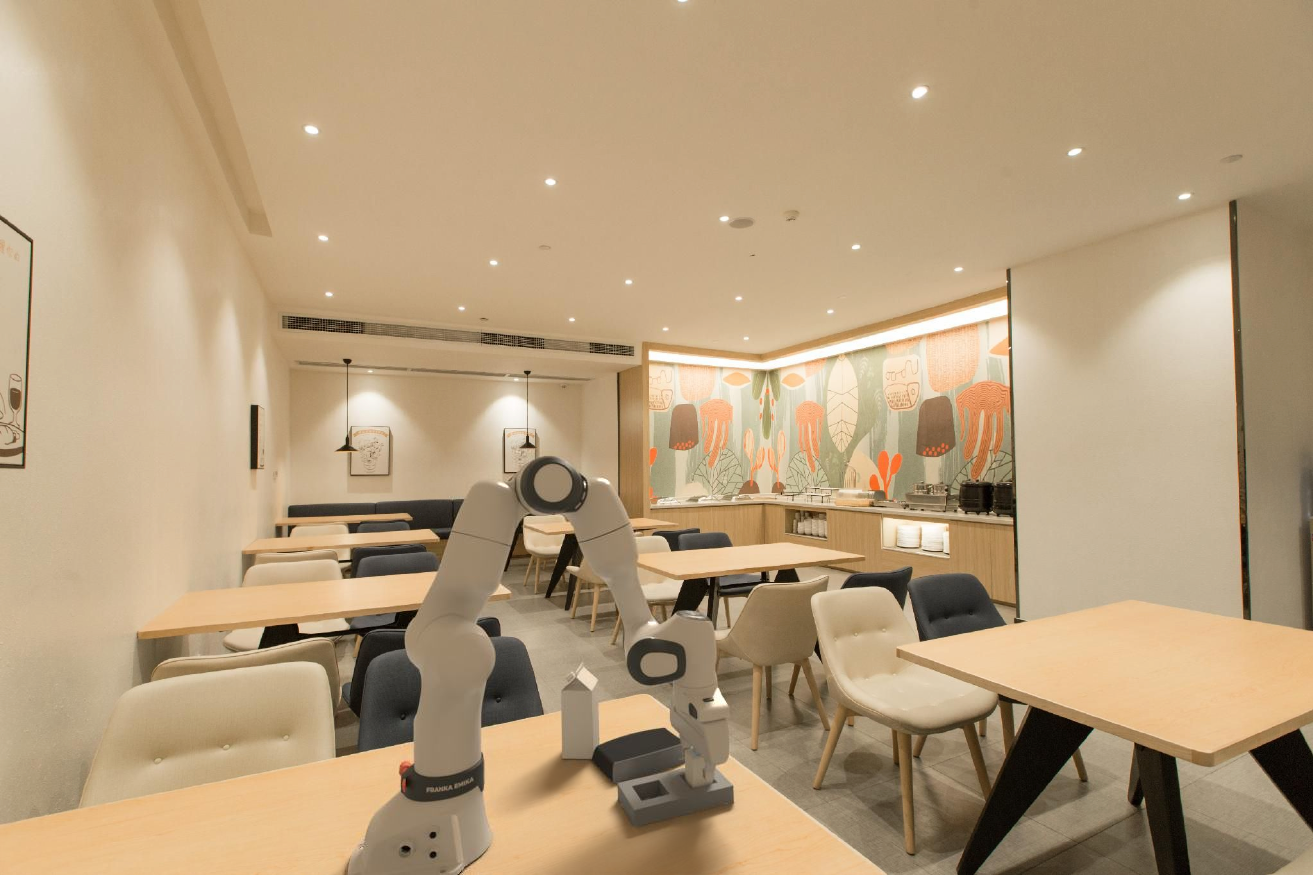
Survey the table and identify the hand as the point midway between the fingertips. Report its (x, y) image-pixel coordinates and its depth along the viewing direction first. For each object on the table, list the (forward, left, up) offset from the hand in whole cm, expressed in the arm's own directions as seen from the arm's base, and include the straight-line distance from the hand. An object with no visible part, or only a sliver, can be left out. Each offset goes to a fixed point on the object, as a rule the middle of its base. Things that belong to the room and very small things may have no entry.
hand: (697, 767), depth 114 cm
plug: (0, 0, -5) cm, 5 cm away
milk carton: (-17, +27, -5) cm, 32 cm away
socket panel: (-5, 0, -5) cm, 7 cm away
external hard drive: (-5, +18, -6) cm, 20 cm away
